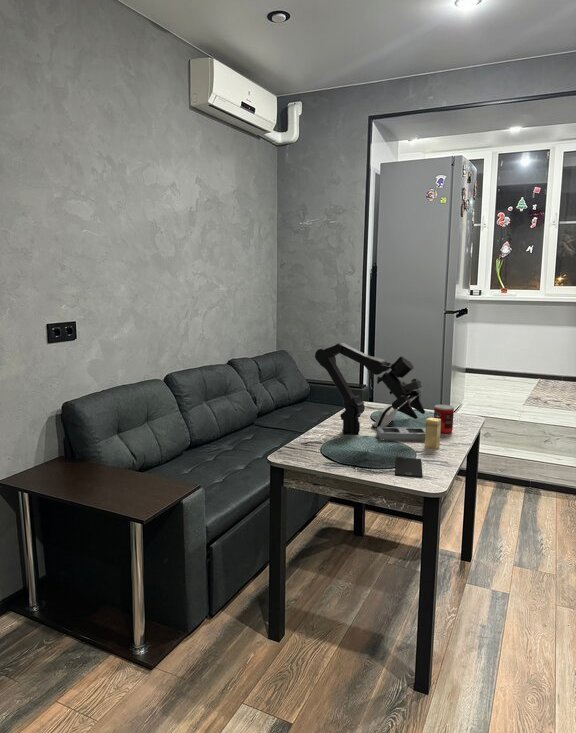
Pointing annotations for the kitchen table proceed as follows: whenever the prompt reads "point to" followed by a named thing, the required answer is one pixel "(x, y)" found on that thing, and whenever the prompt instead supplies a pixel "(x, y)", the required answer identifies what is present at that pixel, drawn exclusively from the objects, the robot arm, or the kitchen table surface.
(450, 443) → the kitchen table surface
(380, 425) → the game console
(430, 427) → the tan tall block
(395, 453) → the kitchen table surface
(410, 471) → the cell phone
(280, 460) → the kitchen table surface
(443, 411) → the canned food
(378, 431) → the grey cinder block
